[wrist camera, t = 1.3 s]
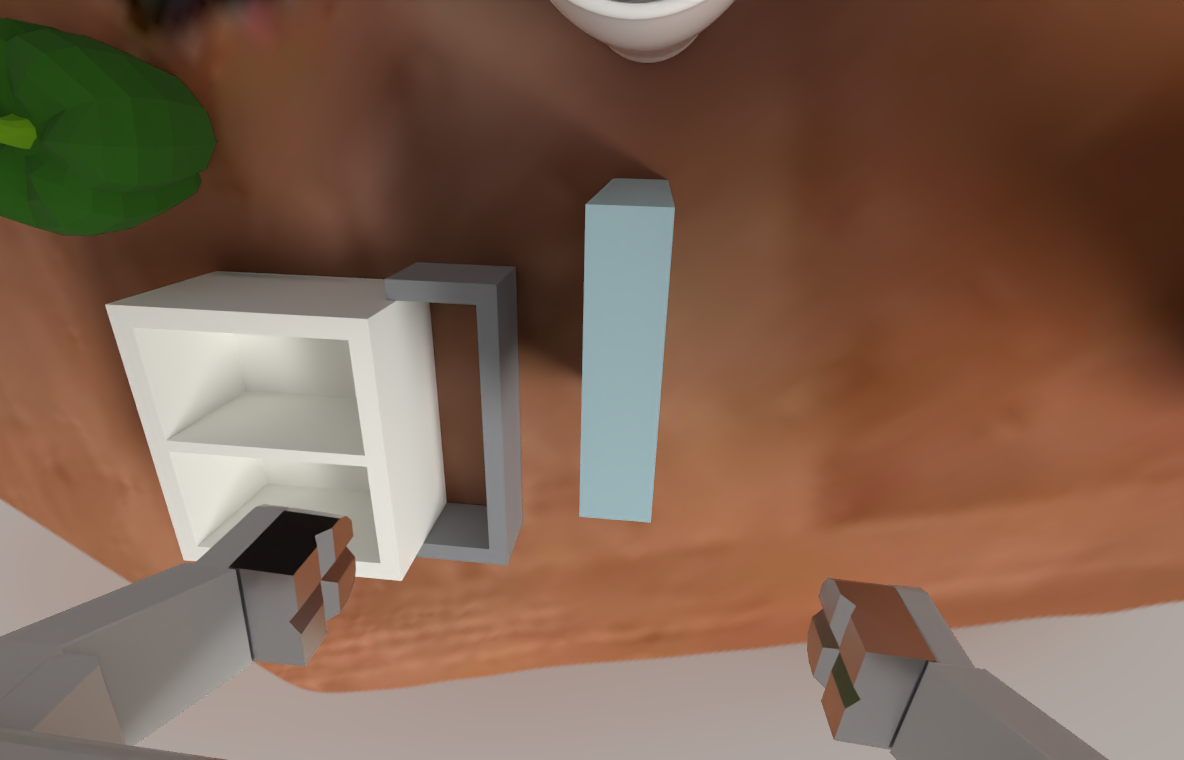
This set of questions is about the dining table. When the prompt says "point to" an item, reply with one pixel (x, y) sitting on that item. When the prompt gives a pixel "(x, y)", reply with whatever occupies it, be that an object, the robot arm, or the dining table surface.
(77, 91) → the bell pepper
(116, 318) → the cabinet
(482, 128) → the dining table surface
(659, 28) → the drinking glass
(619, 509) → the door
